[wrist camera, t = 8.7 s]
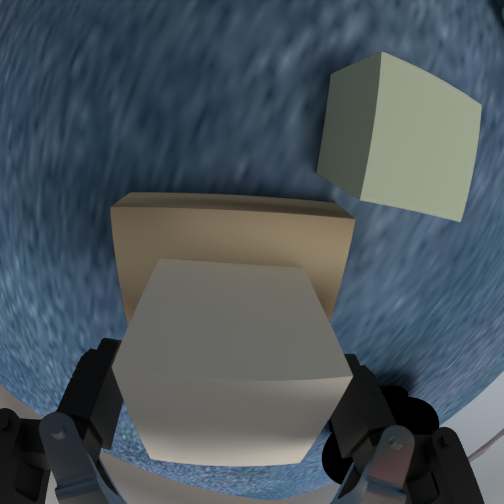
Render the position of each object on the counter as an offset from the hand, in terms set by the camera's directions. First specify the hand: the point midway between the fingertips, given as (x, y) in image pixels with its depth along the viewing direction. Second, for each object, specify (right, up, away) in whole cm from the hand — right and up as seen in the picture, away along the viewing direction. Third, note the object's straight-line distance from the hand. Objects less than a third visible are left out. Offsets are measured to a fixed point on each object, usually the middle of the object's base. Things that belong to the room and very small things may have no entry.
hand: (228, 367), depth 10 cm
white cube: (0, +1, +3) cm, 3 cm away
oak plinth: (0, +3, +6) cm, 6 cm away
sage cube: (+7, +10, +2) cm, 12 cm away
